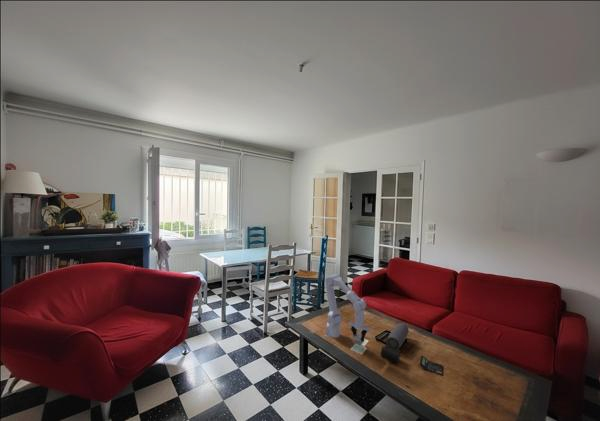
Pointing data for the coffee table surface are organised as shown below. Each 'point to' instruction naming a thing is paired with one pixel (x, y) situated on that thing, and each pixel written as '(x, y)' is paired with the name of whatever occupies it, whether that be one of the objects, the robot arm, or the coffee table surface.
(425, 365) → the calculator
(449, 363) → the coffee table surface
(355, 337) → the block
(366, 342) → the stand
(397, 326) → the bluetooth speaker
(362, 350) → the stand
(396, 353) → the end cap
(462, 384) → the coffee table surface
